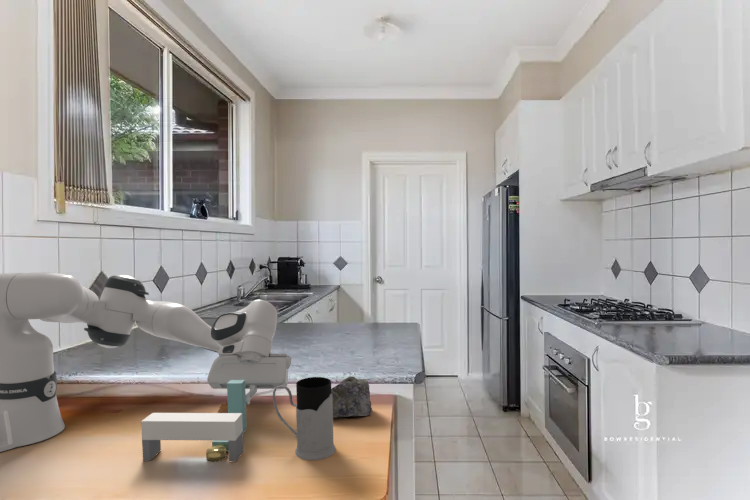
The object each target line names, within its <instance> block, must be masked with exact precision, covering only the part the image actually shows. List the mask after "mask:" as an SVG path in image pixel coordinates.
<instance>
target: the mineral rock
mask: <svg viewBox="0 0 750 500" xmlns="http://www.w3.org/2000/svg"><path fill="white" fill-rule="evenodd" d="M368 381H369V380H368V379H366V378H360V379H359V378H356V377H355V376H347V377H346V378H345V379H342V381H341V382H339V383H338V384H337V385H335V386H334V387H331V394H332V403H333V418H347V417H367V416H371V414H372V410H373V407H372V402H371V396H370V395H371V392H370V384H369V382H368Z"/></svg>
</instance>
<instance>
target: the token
mask: <svg viewBox="0 0 750 500" xmlns="http://www.w3.org/2000/svg"><path fill="white" fill-rule="evenodd" d="M205 452H206V453H205V454H206V455H205V456H206V457H205V458H206V461H208V462H212V463H213V462H215V461H216V462H220V461H222V459H223V460H225V459H226V457H227V451H226V447H225V446H222V445H217V446H213V447H212V446H210V447H208V448H207V449H206V451H205ZM219 460H220V461H219Z"/></svg>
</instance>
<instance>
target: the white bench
mask: <svg viewBox="0 0 750 500" xmlns="http://www.w3.org/2000/svg"><path fill="white" fill-rule="evenodd" d="M140 423H141V446H142V461H143V460H144V462H150V461H152V460H153V459H154V458H155V457H156V456H157V455H158V454H159V453H160V452H161V451H162V445H161V443H162V442H161V441H213V440H221V441H228V445H229V451H228V462H229V461H236V462H237V461H238V460H239V459H238V458H240V457H241V456H242V455H243V453H244V434H243V423H242V413H218V412H151V414H149V415H148V416H146V417H145V418H143V419H142V420H141V422H140ZM160 450H161V451H160ZM159 451H160V452H159ZM158 452H159V453H158ZM157 453H158V454H157ZM156 454H157V455H156ZM155 455H156V456H155ZM240 455H241V456H240ZM154 456H155V457H154ZM153 457H154V458H153ZM152 458H153V459H152ZM237 459H238V460H237ZM147 460H148V461H147Z"/></svg>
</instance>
